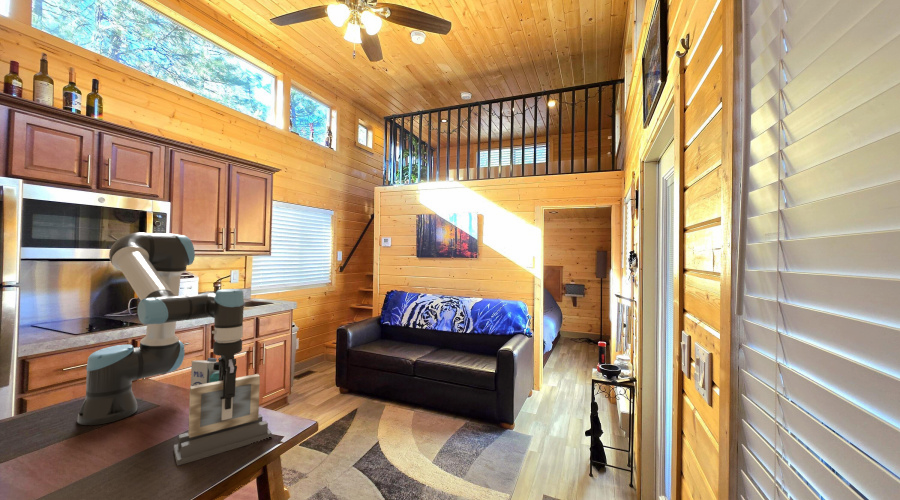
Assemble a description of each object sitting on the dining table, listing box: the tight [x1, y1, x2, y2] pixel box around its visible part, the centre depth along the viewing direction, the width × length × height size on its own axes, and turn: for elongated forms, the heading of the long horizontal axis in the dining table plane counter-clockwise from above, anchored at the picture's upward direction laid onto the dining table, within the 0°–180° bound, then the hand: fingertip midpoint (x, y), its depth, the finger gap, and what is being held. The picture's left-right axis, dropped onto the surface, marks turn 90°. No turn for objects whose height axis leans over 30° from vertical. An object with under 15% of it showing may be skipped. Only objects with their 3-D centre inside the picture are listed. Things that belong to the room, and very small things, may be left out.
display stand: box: [173, 413, 272, 467], centre depth 110 cm, size 24×10×4 cm, turn 132°
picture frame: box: [187, 373, 261, 438], centre depth 110 cm, size 18×3×14 cm, turn 132°
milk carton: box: [190, 357, 219, 386], centre depth 128 cm, size 7×7×20 cm
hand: (225, 416), depth 110 cm, fingers closed on picture frame, 3 cm apart
